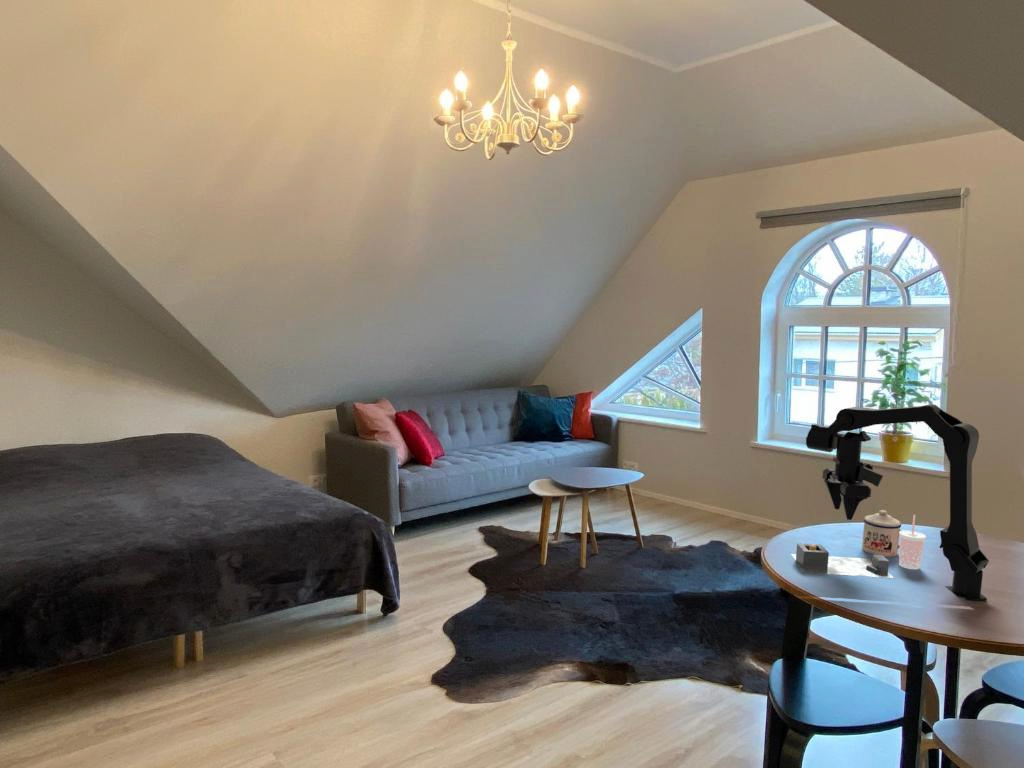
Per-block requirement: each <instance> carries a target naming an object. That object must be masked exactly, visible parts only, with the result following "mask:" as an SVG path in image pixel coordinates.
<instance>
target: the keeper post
mask: <svg viewBox="0 0 1024 768" xmlns="http://www.w3.org/2000/svg"><path fill="white" fill-rule="evenodd" d="M809 550H816V546H814V545H810V546H809Z"/></svg>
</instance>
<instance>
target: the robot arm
mask: <svg viewBox="0 0 1024 768" xmlns="http://www.w3.org/2000/svg"><path fill="white" fill-rule="evenodd" d="M919 422H923V423H924V424H926V425H927V426H928V428H929V429H930V430H931V431H932V432H933V433H934V434H935V435H937V436H938V437H939V438H940V439H942V442H943V448H944V452H945V455H946V458H947V460H948V462H949V523H948V524H949V525H948V526H947V527H945V528H942V530H940V531H939V533H940V534H939V536H940V545H939V549H942V553H943V556H944V557H945V558H946V560H948V563H949V566H950V569H951V571H953V574H952V575H953V576H952V584H951V585H945V586H944V587H945V588H946V589H947V590H949V591H950V592H951V594H954V595H955V596H956V597H958V598H964V599H965V600H973V601H987V600H988V598H987V597H986V596H985V595H983V594H982V593H981V592H982V585H983V575H984V572H983V569H986V567H987V566H988V564H989V563H990V560H989V559H988V557H987V556H986V555H985V553H983V552H982V551H981V549H980V545H979V539H978V535H977V532H976V529H975V527H974V525H973V518H972V517H973V513H972V512H973V511H972V510H973V504H972V503H973V498H972V497H973V492H972V490H973V486H972V485H973V484H972V483H973V480H972V479H973V477H972V476H973V474H972V472H973V471H972V470H973V469H972V468H973V467H972V465H973V461H974V457H975V455H976V452H977V450H978V445H979V439H980V433H979V430H978V429H977V428H975V426H974V425H971V424H970V423H966V422H965V423H964V422H963V421H961V420H960V419H959V418H957V417H955V416H953V415H951V414H950V413H948V412H946V411H944V410H943V409H941V408H940V407H939V406H938V405H936V404H931V403H930V404H925V405H919V406H905V407H893V408H881V409H880V408H879V409H878V408H871V407H863V406H862V407H861V406H852V407H848V408H843V409H841V410H839V411H838V413H836V417H835V420H834V421H833V422H832V423H831V424H830V425H829V426H827V425H823V424H819V423H813V424H811V425H810V426H811V427H810V429H809V431H808V432H807V436H806V438H805V445H806V447H807V448H808V449H810V450H814V451H821V452H827V453H832V452H833V451H834V450H836V451H835V452H836V453H835V456H833V457H832V461H833V462H834V465H835V466H834V468H831V467H829V468H828V467H827V468H825V469H823V471H822V475H821V476H822V479H823V483H824V484H825V486H826V489H827V492H828V494H829V497H830V499H831V502H832V505H833V509H835V510H840V508H841V505H842V507H843V511H844V514H845V518H846V520H849V521H851V520H852V519H853V518H854V515H855V513H856V511H857V508H858V506H859V505H860V503H861V502H862V501H864V500H867V499H869V498H871V497H872V496H871V495H872V489H871V487H870V486H869V485H867V484H865V482H867V483H870V484H872V485H874V486H875V487H879V485H880V483H881V482H882V479H883V477H884V475H883V474H881V473H880V472H878V471H877V470H876V471H875V470H874V469H873V468H874V467H873V465H872V464H870V463H868V462H863V461H861V456H862V455H861V453H862V443H863V442H865V443H866V442H869V441H871V440H872V438H871V437H870V435H868V434H867V433H866V431H865V430H862V431H860V432H852V431H854V430H859V429H863V428H868V427H872V426H876V425H887V424H889V425H890V424H905V423H907V424H908V423H919ZM840 432H846V433H845V434H843V433H840Z"/></svg>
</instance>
